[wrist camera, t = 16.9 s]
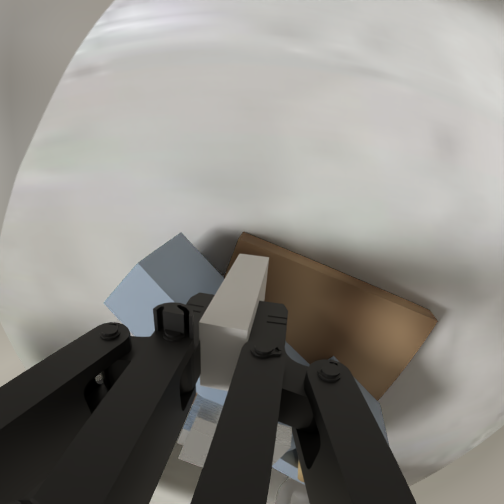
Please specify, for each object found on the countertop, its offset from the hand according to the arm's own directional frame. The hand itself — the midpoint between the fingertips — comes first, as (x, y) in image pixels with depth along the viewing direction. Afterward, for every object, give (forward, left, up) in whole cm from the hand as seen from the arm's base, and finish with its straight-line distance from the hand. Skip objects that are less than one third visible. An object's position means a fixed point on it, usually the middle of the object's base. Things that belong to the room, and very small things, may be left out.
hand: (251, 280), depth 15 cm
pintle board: (+5, -6, -3) cm, 8 cm away
